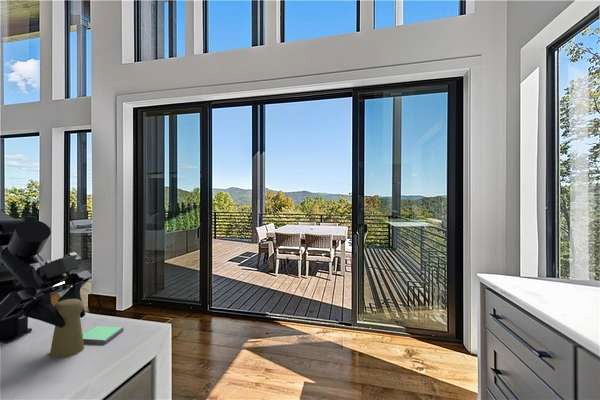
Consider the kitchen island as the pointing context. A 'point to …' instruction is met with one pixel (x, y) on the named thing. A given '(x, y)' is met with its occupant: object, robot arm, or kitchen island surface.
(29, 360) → the kitchen island surface
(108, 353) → the kitchen island surface
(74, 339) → the cork
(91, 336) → the plate
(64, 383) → the kitchen island surface
